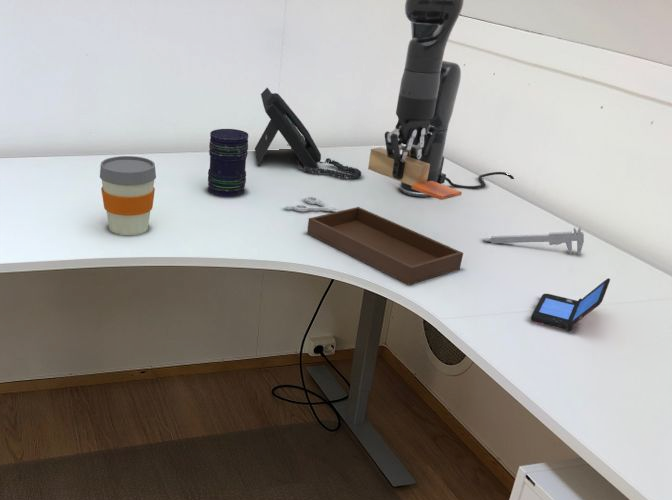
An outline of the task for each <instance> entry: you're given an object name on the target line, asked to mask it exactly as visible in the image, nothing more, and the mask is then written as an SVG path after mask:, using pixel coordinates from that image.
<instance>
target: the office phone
mask: <svg viewBox="0 0 672 500" xmlns="http://www.w3.org/2000/svg"><path fill="white" fill-rule="evenodd" d="M260 97H261V102H262V105H263V109H264V111H265V113H266V115H267V116H268V118H269V119H270V120H269V122H268V123H267V125H266V127H265V129H264V131H263V133H262V134H261V136H260V138H259V140H258V142H257V143H256V144H255V145H256V146H255V147H254V153H255V156H256V162H257V166H258V167H259V165H260V164H261V162H262V160H263V159H264V157H265V155H266V153H267V151H268V150H269V148H270V146H271V144H272V142H273V141H274V139H275V137H276V136H277V134H278V132H279V133H280V134H281V136H282V137H283V139H284V140H285V141H286V142H287V144H288V146H289V147H290V148H291V149H292V151H293V152H294V154H295V155H296V157H297V158H298V160H297V166H298V167H297V168H298V169H301V170H303V171H304V172H307V173H309V174H321V175H324V174H325V175H328V176H335V178H337V177H340V178H342V179H349V180H352V179H357V178H358V179H359V178H360V177H362V170H360V169H358V168H357V167H354V166H348V165H344V164H342V163H340V162H339V161H337V160H336V159H331V158H330V157H328V158H326V159H325V161H322V154H321V152H320V150H319V148H318V146H317V145H316V143H315V141H314V139H313V137H312V136H311V134H310V132H309V131H308V129H307V128H306V126H305V125H304V123H303V122H302V121H301V119H300V118H299V117H298V115H296V113H295V112H294V111H293V110H292V108H291V107H290V105H288V104H287V102H286V101H285V100H284V99H283V98H282V96H281V95H280V94H279V93H277V92H275V93H273V92H271V90H270V88H268V87H266V88H265V89H264V90H263V91H262V92H261V94H260ZM300 162H301V163H302V165H303V167H302V166H301V164H300ZM318 163H319V164H328V165H332V166H333V167H335V168H337V169H338V170H341V171H338V170H334V169H329V168H319V166H318Z"/></svg>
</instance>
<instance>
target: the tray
mask: <svg viewBox="0 0 672 500" xmlns="http://www.w3.org/2000/svg"><path fill="white" fill-rule="evenodd" d="M342 210H343V211H338V212H330V213H326V214H321V215H317V216H313V217H309V218H308V222H307V233H306V234H307V235H309V236H311V237H313V238H315V239H316V240H319V241H321V242H322V243H324V244H327V245H328V246H331V247H332V248H335V249H337V250H339V251H340V252H343V253H344V254H347V255H349V256H351V257H353V258H354V259H356V260H358V261H360V262H363V263H364V264H366V265H368V266H370V267H372V268H374V269H376V270H378V271H380V272H382V273H384V274H386V275H389V277H392V278H394V279H396V280H398V281H400V282H402V283H403V284H405V285H408V286H411V285H414V284H417V283H419V282H423V281H427V280H429V279H433V278H436V277H440V276H442V275H446V274H449V273H452V272H455V271H459V270H460V269H461V265H462V261H463V258H464V257H463V256H464V252H462V251H461V250H458V249H456V248H454V247H451V246H449V245H446V244H444V243H442V242H440V241H437V240H435V239H433V238H431V237H428V236H426V235H424V234H422V233H419V232H417V231H415V230H412V229H410V228H408V227H405V226H403V225H401V224H398V223H397V222H394V221H392V220H389V219H387V218H385V217H383V216H380V215H378V214H375V213H374V212H371V211H368V210H366V209H364V208H362V207H360V206H356V207H352V208H348V209H342Z"/></svg>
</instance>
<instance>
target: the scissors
mask: <svg viewBox="0 0 672 500" xmlns="http://www.w3.org/2000/svg"><path fill="white" fill-rule="evenodd" d="M304 202H306V203H307V204H311V205H312V204H313V205H318V206H319V207H318V206H316V207H315V206H309V205H307V204H295V205H285V210H293V211H296V212H308V211H315V212H317V211H324V212H331V213H334V212H338V211H343V210H344V209H341V208H336V207H334V206H331V205H329V204H328V205H327V204H324V202H321V201H320V200H319V198H317V197H314V196H306V197H305V198H304Z"/></svg>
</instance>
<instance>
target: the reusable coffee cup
mask: <svg viewBox="0 0 672 500" xmlns="http://www.w3.org/2000/svg"><path fill="white" fill-rule="evenodd" d="M156 173H157V172H156V164H155V161H153V160H151V159H149V158H146V157H142V156H135V155H134V156H133V155H120V156H113V157H109V158H105V159H104V160H102V161H101V162H100V167H99V178H100V179H101V185H102V186H101V187H100V189H101V197H102V203H103V208H104V210H105V211H106V218H107V223H108V229H109V231H110V232H112V233H114V234H116V235H121V236H137V235H141V234H144V233H146V232H147V231H148V230H149V222H150V216H151V211H152V210H153V207H154V200H155V199H154V198H155V192H156V188H155V186H154V185H155V180H156V178H157V174H156Z"/></svg>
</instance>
